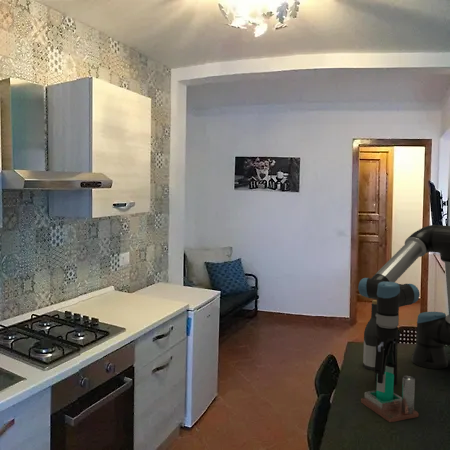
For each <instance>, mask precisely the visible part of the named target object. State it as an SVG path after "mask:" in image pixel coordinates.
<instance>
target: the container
mask: <svg viewBox="0 0 450 450" xmlns="http://www.w3.org/2000/svg"><path fill="white" fill-rule="evenodd" d="M376 339H377V345H379V342H380V337H378V336H377V335H376ZM399 340H400V337H399V336H398V337H397V341H396V364H395V365H396V368H395V367H393V368H394V372H393V374H394V386H395V385H397V383H398V345H399V344H398V341H399ZM386 366H387V362H386ZM386 366H385V370H386ZM374 381H375V382H376V383H377V373H375V372H374Z"/></svg>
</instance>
